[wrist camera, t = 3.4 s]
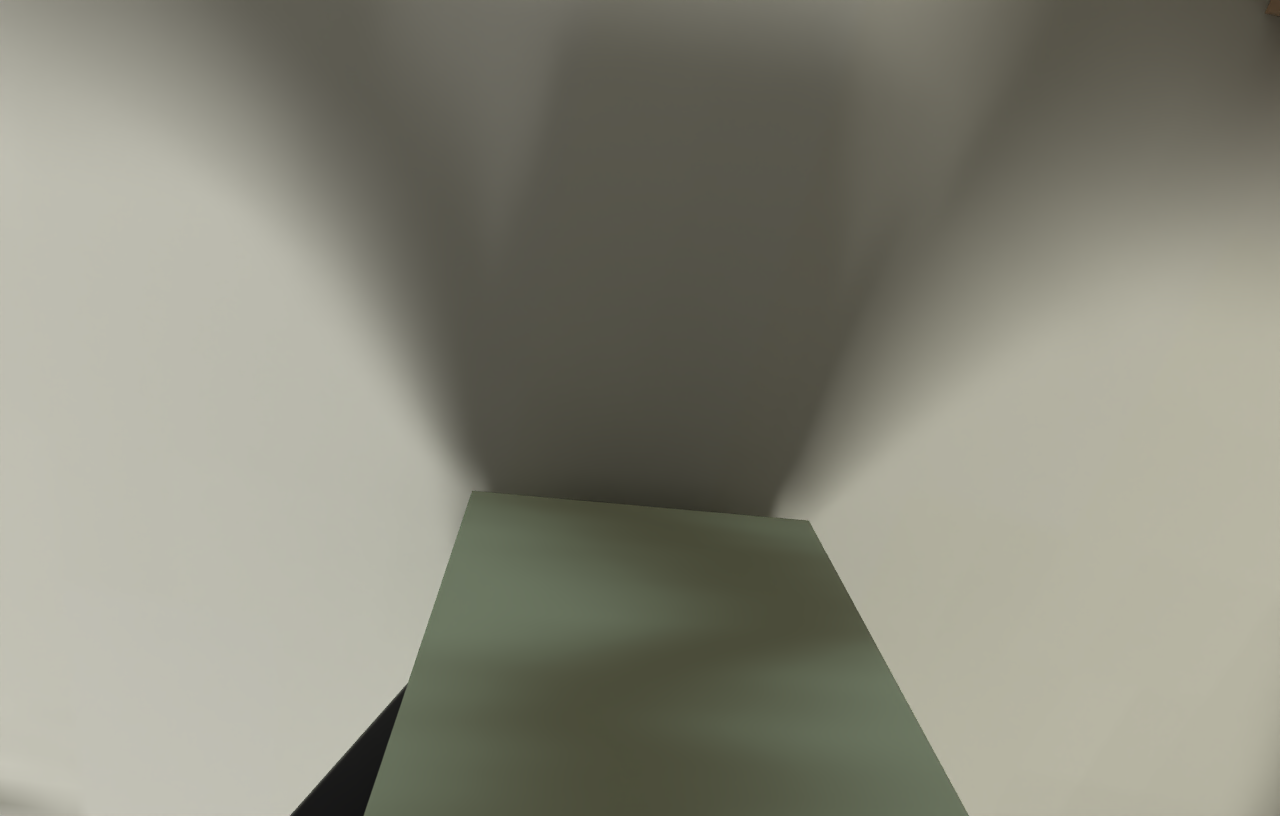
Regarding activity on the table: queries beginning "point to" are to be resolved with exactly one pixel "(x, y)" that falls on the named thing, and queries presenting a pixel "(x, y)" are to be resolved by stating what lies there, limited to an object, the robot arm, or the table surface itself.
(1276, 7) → the tower base
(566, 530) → the green cube
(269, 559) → the table surface
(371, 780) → the robot arm
